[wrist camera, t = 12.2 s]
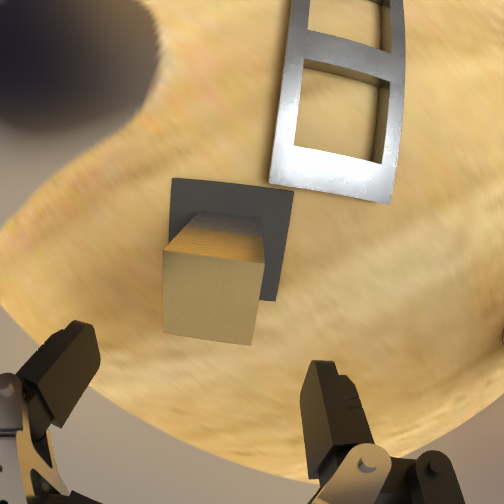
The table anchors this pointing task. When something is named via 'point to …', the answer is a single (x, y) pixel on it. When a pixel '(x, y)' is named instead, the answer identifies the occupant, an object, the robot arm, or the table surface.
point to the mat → (238, 203)
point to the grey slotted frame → (352, 66)
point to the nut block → (214, 278)
